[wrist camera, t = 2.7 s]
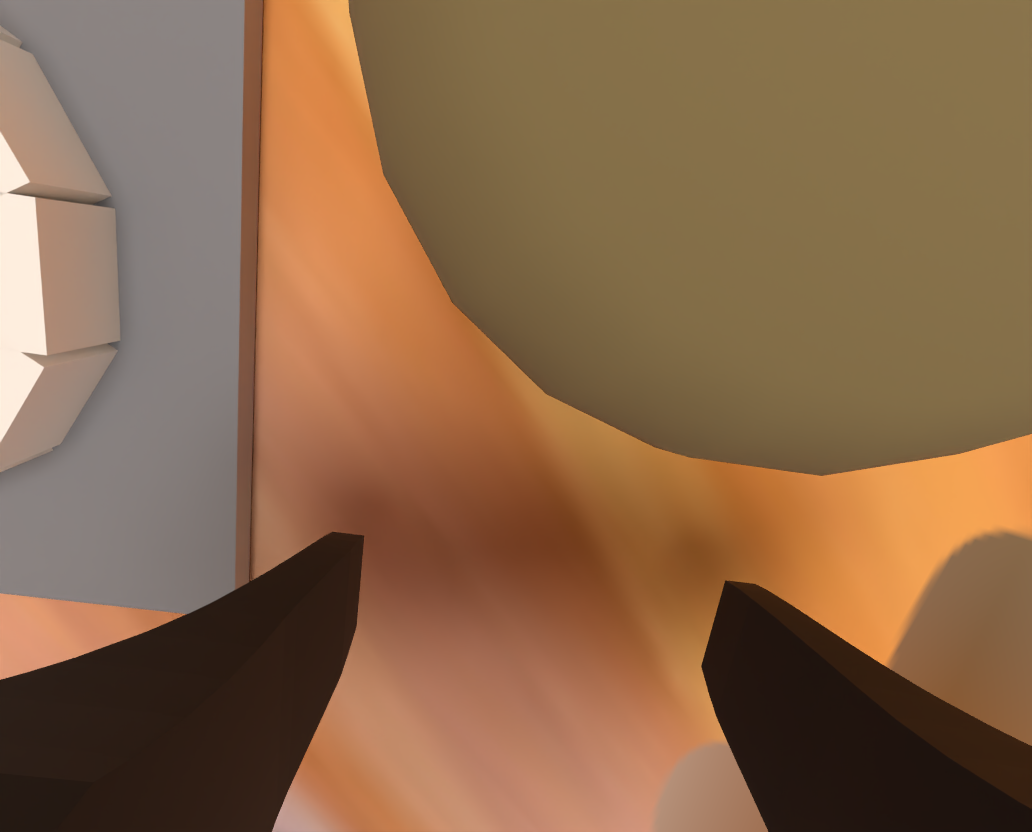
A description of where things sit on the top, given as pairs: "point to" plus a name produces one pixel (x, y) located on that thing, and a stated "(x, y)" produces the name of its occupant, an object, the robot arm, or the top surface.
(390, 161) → the cork
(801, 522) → the top surface
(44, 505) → the ring stand
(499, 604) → the top surface
